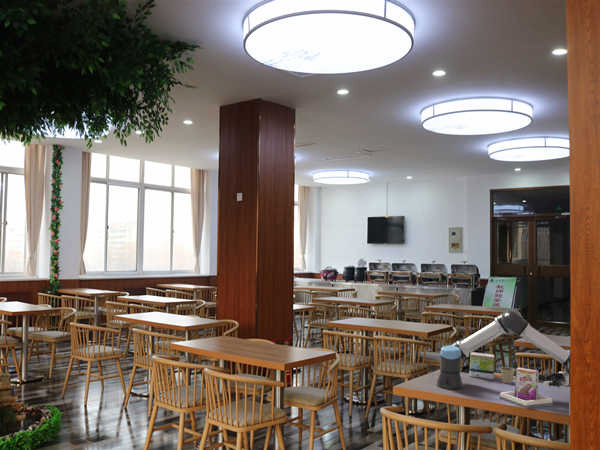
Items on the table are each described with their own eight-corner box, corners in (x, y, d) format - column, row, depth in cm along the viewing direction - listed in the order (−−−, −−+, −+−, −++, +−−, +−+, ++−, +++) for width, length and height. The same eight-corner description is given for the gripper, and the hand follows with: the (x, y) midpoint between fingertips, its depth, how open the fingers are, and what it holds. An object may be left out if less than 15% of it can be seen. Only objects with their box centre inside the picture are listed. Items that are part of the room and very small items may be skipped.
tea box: (469, 376, 351) (470, 354, 352) (469, 373, 360) (470, 351, 361) (493, 379, 346) (494, 356, 347) (493, 376, 356) (493, 353, 357)
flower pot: (495, 380, 343) (496, 367, 343) (507, 380, 346) (508, 366, 347) (506, 384, 334) (506, 370, 335) (518, 384, 337) (518, 370, 338)
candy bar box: (514, 398, 297) (515, 368, 298) (516, 396, 301) (517, 367, 302) (536, 402, 291) (537, 371, 292) (537, 400, 295) (538, 370, 296)
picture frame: (499, 398, 300) (500, 392, 300) (525, 396, 309) (525, 390, 309) (525, 408, 284) (526, 401, 284) (552, 405, 292) (552, 398, 292)
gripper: (579, 391, 296) (552, 394, 287) (541, 380, 318) (515, 382, 309) (579, 377, 296) (552, 379, 287) (542, 367, 318) (515, 369, 309)
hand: (533, 381), depth 298 cm, fingers open, 13 cm apart
